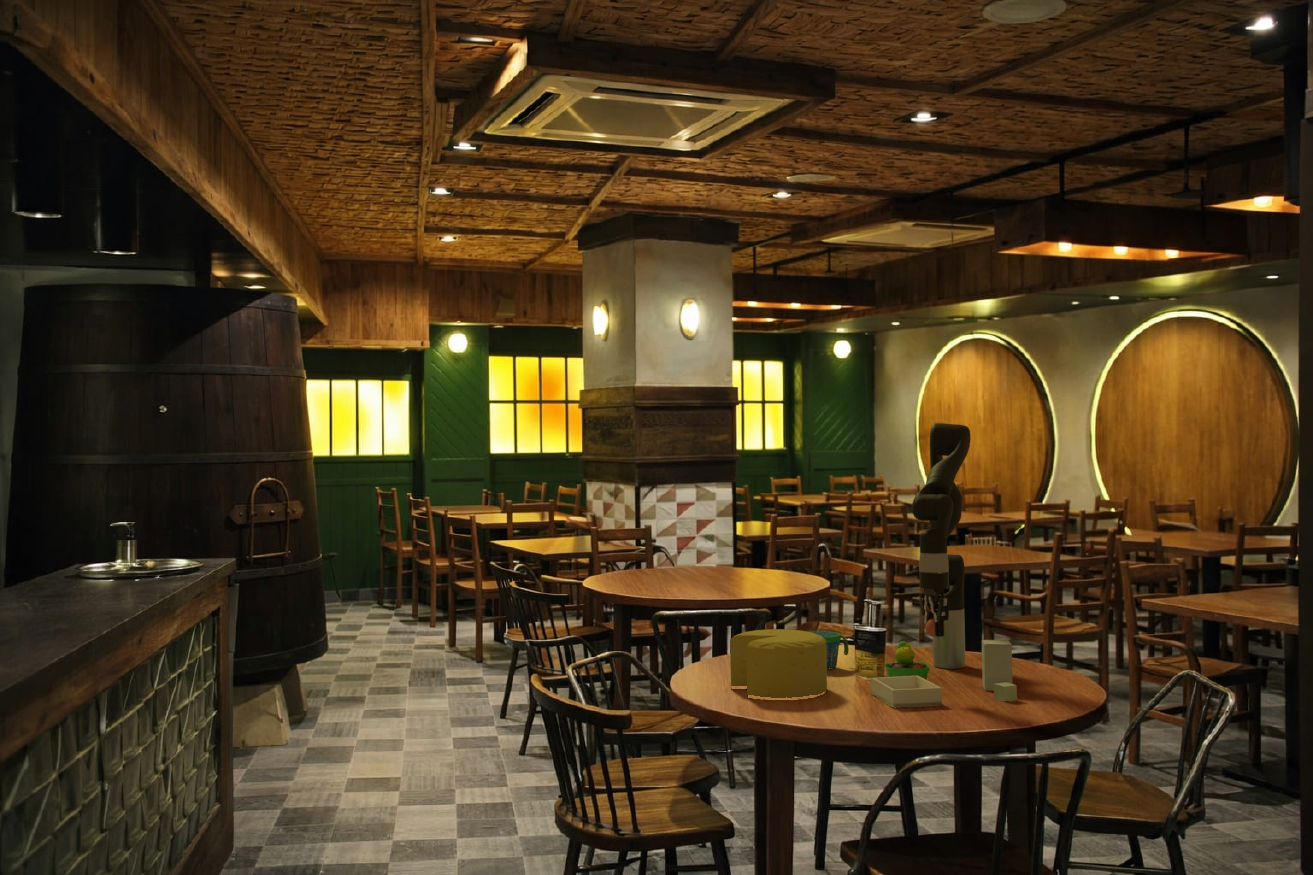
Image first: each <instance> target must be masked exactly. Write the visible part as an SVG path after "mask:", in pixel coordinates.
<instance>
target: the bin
mask: <svg viewBox="0 0 1313 875" xmlns="http://www.w3.org/2000/svg"><path fill="white" fill-rule="evenodd" d="M870 683H871V684H870V685H871V686H870V687H871V689H870V690H871V696H873V695H874V696H876V697H877V698H876V697H875V698H876V699H878V700H879V701H881V702H882V701H883V702H882V703H884V702H885V703H884V704H885V705H887V704H888V705H887V706H889V707H890V706H891V708H892V707H908V708H922V707H924V708H925V707H940V706H941V707H942V706H943V688H942V687H941V686H939V685H937V684H936V683H933V682H931V681H929V680H928V679H927V680H926V679H924V678H922V677H920V676H899V677H888V676H884V677H871V682H870ZM874 696H873V697H874Z"/></svg>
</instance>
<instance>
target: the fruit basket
mask: <svg viewBox="0 0 1313 875" xmlns="http://www.w3.org/2000/svg"><path fill="white" fill-rule="evenodd" d="M894 656H895V662H890V663H884V667H885V669H886V672H887V673H886V674H887V677H899V676H920V677H922V678H924V679H926V680H927V681H928V673H929V671H930V668H931V667H930V666H929V665H928V664H927V663H925V662H915V661H914V659H915V657H916V654H915V651H914V649H913V648H912V646H911V644H909V642H906V641H905V640H903V641H900V642H898V645H897V649H896V651H895V655H894Z"/></svg>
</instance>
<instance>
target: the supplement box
mask: <svg viewBox="0 0 1313 875" xmlns="http://www.w3.org/2000/svg"><path fill="white" fill-rule="evenodd" d="M1012 646H1013V645H1012V643H1011V641H1010V640H1007V639H1003V640H1002V639H982V640H981V665H982V666H981V670H982V671H981V673H982V674H981V675H982V682H981V683H982V688H983V689H984V691H985V692H986V691H989V692H994V684H997V683H1005V682H1007V683H1010V684H1013V651H1012V650H1013V647H1012Z"/></svg>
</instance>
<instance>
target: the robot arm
mask: <svg viewBox="0 0 1313 875" xmlns="http://www.w3.org/2000/svg"><path fill="white" fill-rule="evenodd" d="M929 432H930V433H929V459H930V460H929V464H930V471H929V472H928V474H927V478H926V482H925V484H924V485H923V486H922V487H921V489H919V491H918V492H917V494H915V496H914V498H913V500H912V502H911V503H912V504H911V513H912V515H913V517H914V518H915V519H916V520H918V521H921V522H928V525H929V527H928V529H926V530H925V529H924V530H923V531H921V532H920V533H919V559H918V560H919V561H918V562H919V564H918V565H919V566H918V567H919V568H918V569H919V570H918V572H919V587H920V588H921V589H924V590H925V591H924V593H919V602H920V609H921V616H922V617H924V619H925V624H926V623H927V622H928V621H929V620H930V619H933V618H935V636H937V637H932V655H933V659H932V661H933V664H932V665H933V666H934V667H935V668H939V669H940V668H941V669H962V668H965V667H966V635H965V633H966V632H965V630H966V629H965V560H964V558H963V556H962V555H961V554H948V537H950V535H951V534H952V533H953V531H954V530H955V529H956V528H957V526H958V524H959V523H960V521H961V519H962V514H963V513H962V511H963V510H962V508H963V497H962V494H961V491H960V489H959V488H958V486H957V484H956V483H955V479H956V476H957V474H958V472H959V471H960V469H961V467H962V466H963V464H964V462H965V459H966V457H967V456H968V453H969V450H970V446H971V436H972V435H971V430H970V427H968V426H967V425H965V424H954V423H942V422H938V423H937V422H936V423H934V424H933V425H932V426H931V428H930V431H929ZM943 456H944V457H943ZM950 586H951V587H952V588H951V589H950V590H949V591H948V592H946V593H945V592H944V590H946V589H949V587H950ZM944 625H945V631H944Z"/></svg>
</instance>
